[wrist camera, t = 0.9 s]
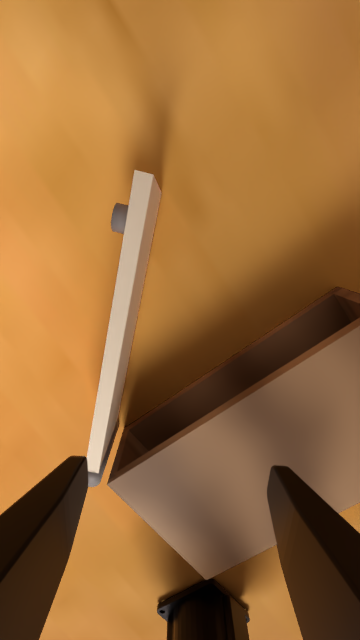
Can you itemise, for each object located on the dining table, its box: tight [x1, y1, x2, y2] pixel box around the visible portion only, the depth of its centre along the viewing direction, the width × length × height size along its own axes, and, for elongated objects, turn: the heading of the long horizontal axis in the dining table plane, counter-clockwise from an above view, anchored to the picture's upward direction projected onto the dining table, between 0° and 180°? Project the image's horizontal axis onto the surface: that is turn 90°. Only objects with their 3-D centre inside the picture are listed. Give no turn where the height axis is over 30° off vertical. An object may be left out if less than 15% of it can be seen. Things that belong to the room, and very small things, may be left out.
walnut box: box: [107, 287, 360, 580], centre depth 18 cm, size 18×10×5 cm, turn 127°
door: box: [87, 170, 162, 487], centre depth 16 cm, size 17×2×5 cm, turn 167°
